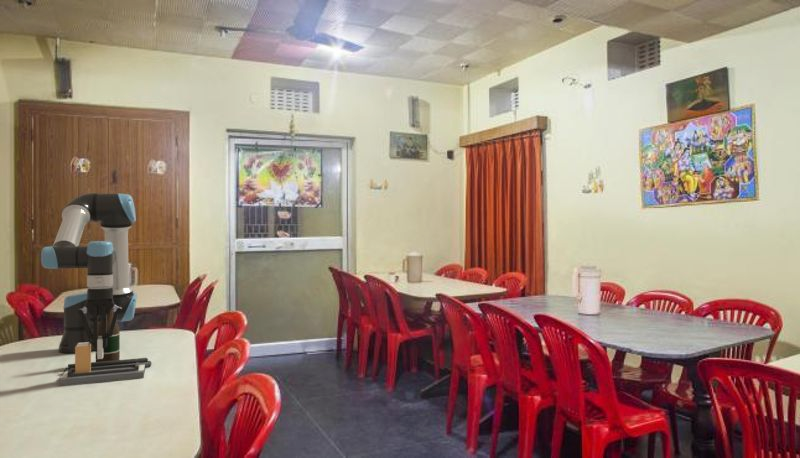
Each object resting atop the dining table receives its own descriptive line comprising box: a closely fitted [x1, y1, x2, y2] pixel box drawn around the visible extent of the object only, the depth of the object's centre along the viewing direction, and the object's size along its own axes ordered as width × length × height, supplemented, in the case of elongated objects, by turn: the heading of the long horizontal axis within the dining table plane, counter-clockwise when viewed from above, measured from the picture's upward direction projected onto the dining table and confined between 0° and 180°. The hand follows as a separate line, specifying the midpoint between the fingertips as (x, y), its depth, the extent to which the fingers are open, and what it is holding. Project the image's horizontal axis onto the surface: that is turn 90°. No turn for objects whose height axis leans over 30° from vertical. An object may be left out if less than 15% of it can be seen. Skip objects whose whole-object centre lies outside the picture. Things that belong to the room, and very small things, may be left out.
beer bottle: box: [95, 308, 121, 362], centre depth 200 cm, size 8×8×24 cm
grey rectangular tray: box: [58, 362, 146, 387], centre depth 182 cm, size 12×24×3 cm, turn 113°
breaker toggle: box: [74, 342, 92, 373], centre depth 179 cm, size 4×4×10 cm
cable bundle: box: [63, 357, 152, 374], centre depth 191 cm, size 27×4×3 cm, turn 113°
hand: (100, 358), depth 182 cm, fingers closed
